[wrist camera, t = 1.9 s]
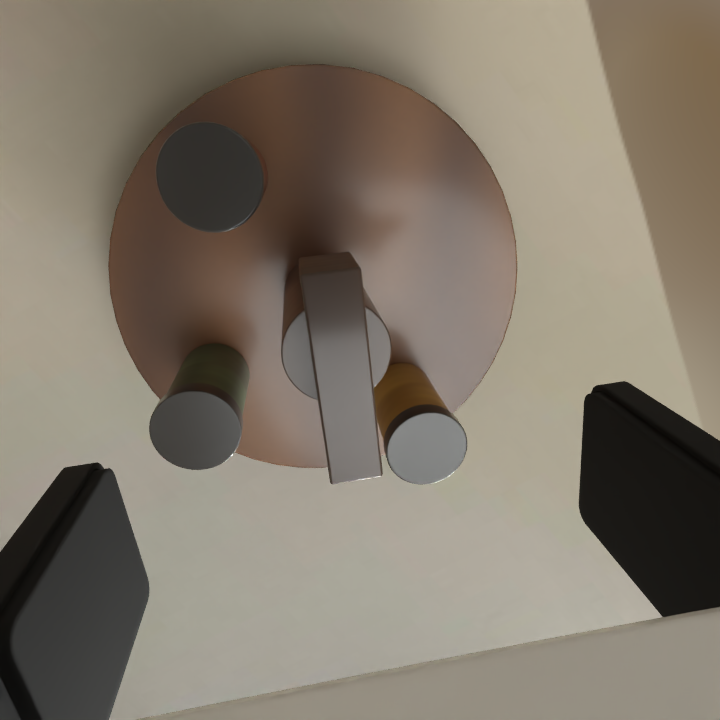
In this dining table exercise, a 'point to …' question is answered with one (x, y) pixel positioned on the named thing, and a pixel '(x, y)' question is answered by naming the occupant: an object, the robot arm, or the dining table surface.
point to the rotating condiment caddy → (313, 275)
